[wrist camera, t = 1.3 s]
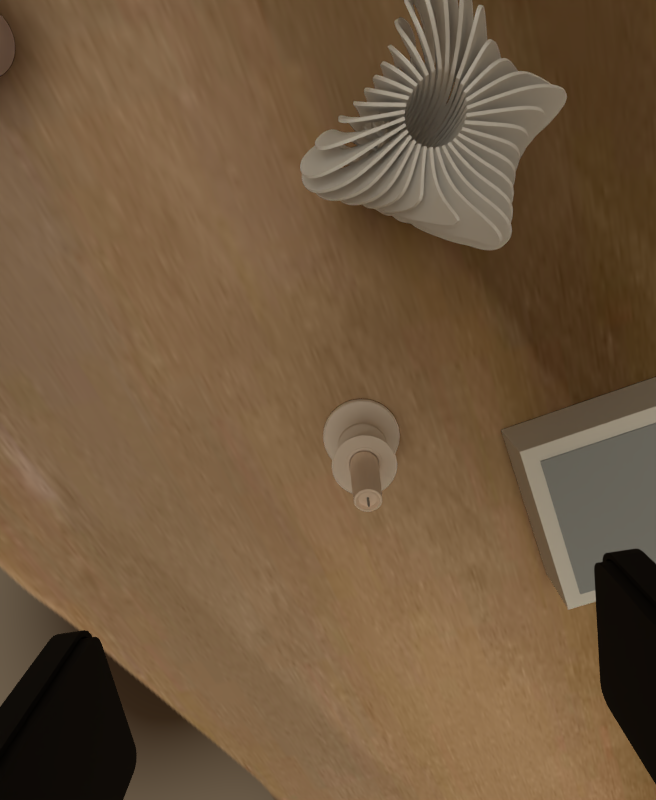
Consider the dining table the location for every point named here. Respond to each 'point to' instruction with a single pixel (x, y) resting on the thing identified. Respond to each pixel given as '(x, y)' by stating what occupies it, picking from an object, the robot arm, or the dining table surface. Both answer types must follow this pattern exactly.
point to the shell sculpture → (438, 131)
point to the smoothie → (6, 46)
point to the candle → (362, 449)
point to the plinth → (589, 483)
